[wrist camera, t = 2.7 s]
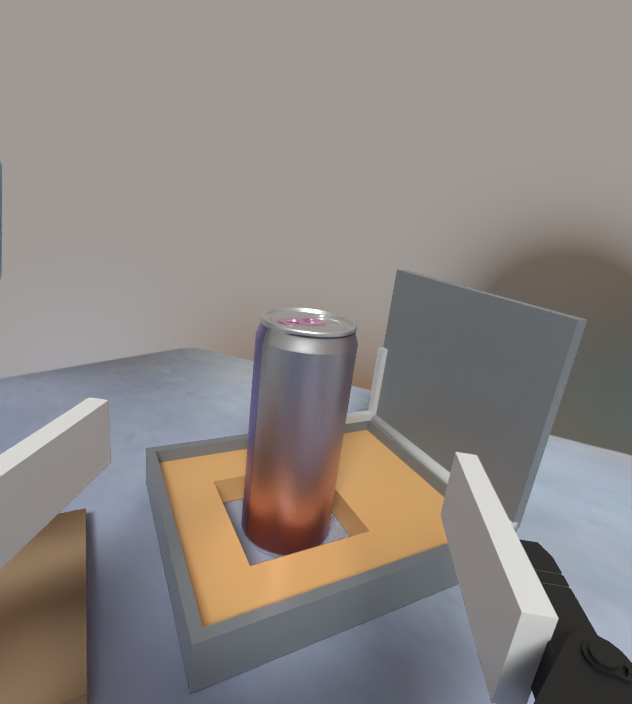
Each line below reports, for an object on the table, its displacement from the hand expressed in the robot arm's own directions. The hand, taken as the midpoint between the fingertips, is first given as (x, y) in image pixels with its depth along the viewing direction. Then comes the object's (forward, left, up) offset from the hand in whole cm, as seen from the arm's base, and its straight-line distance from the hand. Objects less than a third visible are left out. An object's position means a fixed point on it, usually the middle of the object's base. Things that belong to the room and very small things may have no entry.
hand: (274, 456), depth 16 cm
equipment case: (-9, +7, -12) cm, 16 cm away
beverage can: (-9, +5, -12) cm, 16 cm away
